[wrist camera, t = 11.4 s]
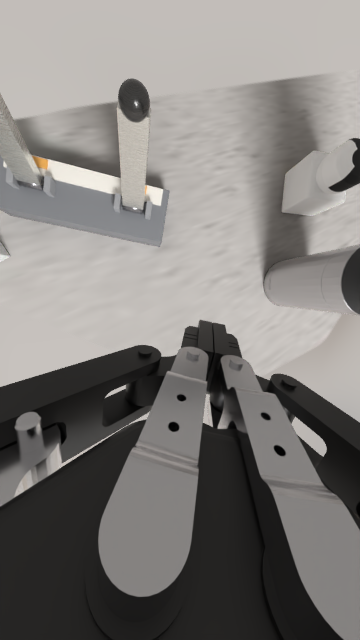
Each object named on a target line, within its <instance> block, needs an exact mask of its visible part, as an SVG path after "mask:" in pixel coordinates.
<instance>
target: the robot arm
mask: <svg viewBox="0 0 360 640" xmlns="http://www.w3.org/2000/svg"><path fill="white" fill-rule="evenodd" d="M264 290H265V293H266V295H267V297H268V299H269V300H270V301H271V302H272V303H274V304H276V305H278V306H284V307H292V308H300V309H308V310H317V311H325V312H334V313H342V314H352V315H360V245H355V246H350V247H346V248H341V249H336V250H331V251H327V252H322V253H317V254H312V255H308V256H303V257H298V258H293V259H288V260H284V261H280V262H278V263H276V264H274V265H273V266H272V267H271V268H270V269H269V270H268V272H267V274H266V277H265V280H264ZM124 385H126V389H124V390H122V391H120V392H118V393H116V394H113V395H111V396H109V397H107V398H105V396H106V395H107V394H108V393H109V392H111V391H112V390H114V389H117V388H119V387H121V386H124ZM206 394H210V399H209V402H208V418H209V425H207V424H205V423H203V415H204V406H205V398H206ZM149 411H150V413H149V416H148V418H147V420H142V421H138V422H135V423H132V424H130V425H128V424H129V423H131V422H133V421H135V420H136V419H138V418H140V417H141V416H143V415H145V414H146V413H148V412H149ZM295 416H296V417H297V418H298V419H299V420H300V421H302V422H303V423H304V424H305V425H307V426H308V427H309V428H310V429H311V430H313V431H314V432H315V433H316V434H317V435H319V436H320V437H321V438H322V439H323V440H324V442H325V444H326V446H327V452H326V454H325V455H324V457H323V456H321V455H319V454H318V453H317V452H316V451H315V450H314V449H313V448H311V447H310V446H309V445H308V444H307V443H306V442H305V441H304V440H302V439H301V438H300V437H299V436H298V435H297V434H296V432H295V430H294V428H293V426H292V425H291V423H292V421H293V419H294V418H295ZM126 425H128V426H126ZM124 426H126V427H124ZM123 427H124V428H123ZM121 428H123V429H121ZM119 429H121V430H120V431H118V432H116V431H117V430H119ZM114 432H116V433H115V434H113V435H112V436H110V437H109V438H107V439H105V440H104V441H102V442H101V443H99V444H98V445H96V446H94V447H93V448H92V449H90V450H88V451H87V452H85V453H83V454H82V455H80V456H79V457H77V458H76V459H74V460H72V461H71V462H69V463H68V464H66V465H65V466H63V467H61V464H62V463H63V462H65V461H67V460H68V459H70V458H72V457H74V456H75V455H77V454H79V453H80V452H82V451H83V450H85V449H87V448H89V447H90V446H92V445H94V444H95V443H97V442H99V441H101V440H102V439H104V438H106V437H107V436H109V435H111V434H112V433H114ZM60 467H61V468H60ZM0 640H360V423H359V422H358V421H356V420H355V419H353V418H352V417H351V416H349V415H348V414H346V413H344V412H343V411H342V410H340V409H339V408H337V407H336V406H334V405H333V404H331V403H330V402H328V401H327V400H325V399H324V398H323V397H321V396H320V395H318V394H317V393H315V392H314V391H312V390H311V389H309V388H308V387H306V386H305V385H303V384H302V383H300V382H299V381H297V380H296V379H294V378H292V377H290V376H287V375H284V374H274V375H272V376H271V379H270V381H269V380H267V379H264V378H262V377H259V376H257V375H255V373H254V371H253V369H252V367H251V365H250V364H249V363H248V362H247V361H246V360H244V359H243V358H242V355H241V352H240V349H239V345H238V341H237V339H236V338H235V337H234V336H233V335H232V334H227V333H226V328H225V325H223V324H218V323H212V322H208V321H203V320H200V321H199V325H198V328H197V327H193V326H189V327H187V328H186V329H185V332H184V337H183V341H182V346H181V349H179V351H178V353H177V355H175V356H171V357H161V353H160V351H159V350H158V349H156V348H154V347H152V346H147V345H138V346H134V347H131V348H128V349H124V350H121V351H118V352H114V353H112V354H108V355H105V356H101V357H98V358H95V359H91V360H88V361H85V362H82V363H78V364H75V365H72V366H68V367H65V368H62V369H59V370H55V371H52V372H49V373H45V374H42V375H39V376H35V377H32V378H29V379H25V380H22V381H19V382H15V383H12V384H9V385H6V386H3V387H0Z"/></svg>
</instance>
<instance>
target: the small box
mask: <svg viewBox="0 0 360 640" xmlns="http://www.w3.org/2000/svg"><path fill="white" fill-rule="evenodd" d="M9 257H10V255H9V254H8V252H7V251H6V249H5V248H4V246H3V245H2V243H1V242H0V262H1V261H3V260H5V259H7V258H9Z"/></svg>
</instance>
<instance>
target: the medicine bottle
mask: <svg viewBox="0 0 360 640" xmlns="http://www.w3.org/2000/svg"><path fill="white" fill-rule="evenodd" d="M359 183H360V139H357V138H353V139H349V140H347V141H346V142H344V143H343V144H342V145H340V146H339V147H338V148H336V149H335V150H334V151H332V152H331V153H326V152H321V151H315V150H314V151H312V152H311V153H310V154H309V155H307V156H306V157H305V158H304V159H302V160H301V161H300V162H299V163H298V164H296V165H295V166H294V167H293V168H291V169H290V170H289V171H288V172H287V173H286V174H285V181H284V191H283V201H282V212H283V213H291V214H300V215H308V216H314V215H316V214H319V213H321V212H323V211H326V210H328V209H330V208H332V207H335V206H337V205H339V204H342V203H343V202H345V196H346V190H347V189H349V188H351V187H353V186H355V185H357V184H359Z"/></svg>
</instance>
